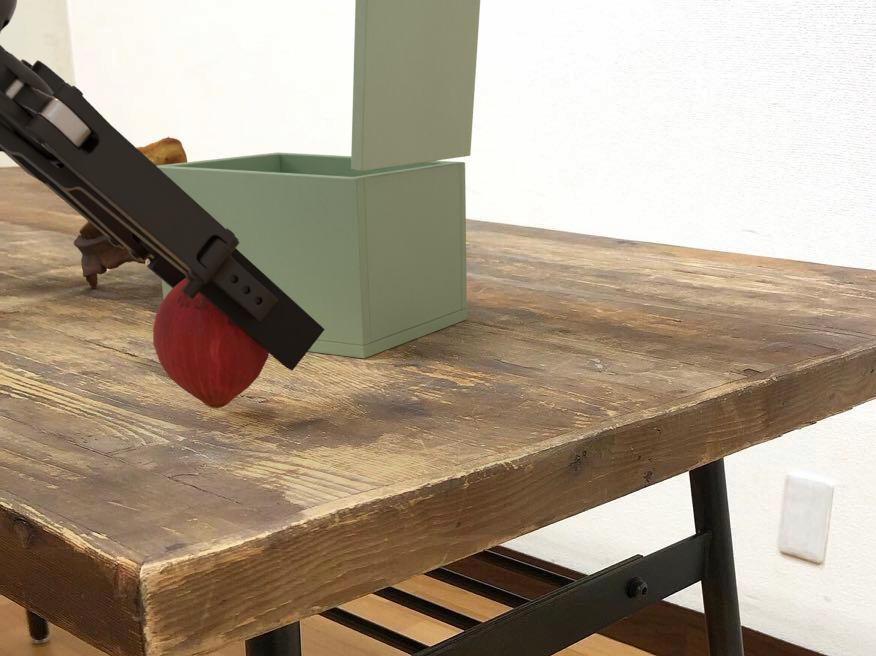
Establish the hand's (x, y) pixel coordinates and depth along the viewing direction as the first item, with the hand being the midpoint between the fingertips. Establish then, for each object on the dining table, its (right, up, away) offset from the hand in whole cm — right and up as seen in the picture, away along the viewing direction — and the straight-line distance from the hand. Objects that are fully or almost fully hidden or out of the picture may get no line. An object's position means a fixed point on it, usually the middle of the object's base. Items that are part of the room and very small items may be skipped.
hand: (279, 336), depth 65 cm
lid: (+6, +21, +10) cm, 24 cm away
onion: (-3, -4, -1) cm, 5 cm away
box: (-1, +4, +20) cm, 21 cm away
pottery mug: (-17, +10, +34) cm, 40 cm away
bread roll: (-35, +30, +84) cm, 96 cm away
